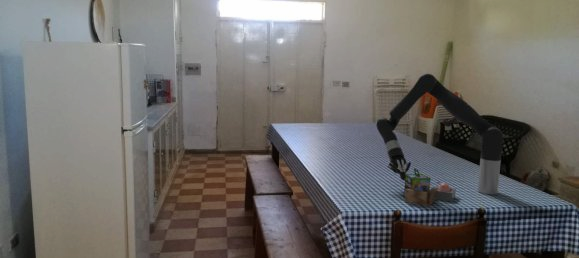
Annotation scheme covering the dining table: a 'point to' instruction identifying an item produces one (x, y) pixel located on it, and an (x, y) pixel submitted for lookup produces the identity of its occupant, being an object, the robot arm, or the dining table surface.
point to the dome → (444, 187)
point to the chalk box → (417, 182)
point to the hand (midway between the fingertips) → (404, 179)
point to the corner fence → (420, 197)
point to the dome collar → (445, 194)
